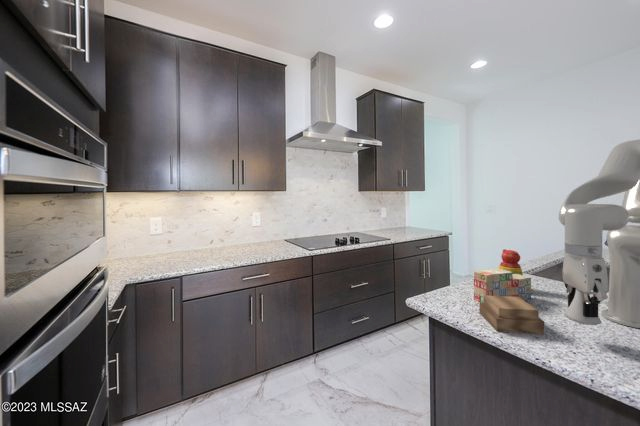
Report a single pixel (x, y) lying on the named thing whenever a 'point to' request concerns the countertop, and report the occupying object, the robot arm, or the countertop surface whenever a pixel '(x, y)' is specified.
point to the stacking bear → (510, 262)
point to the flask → (580, 311)
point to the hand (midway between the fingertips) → (582, 311)
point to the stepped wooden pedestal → (511, 315)
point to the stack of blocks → (501, 284)
